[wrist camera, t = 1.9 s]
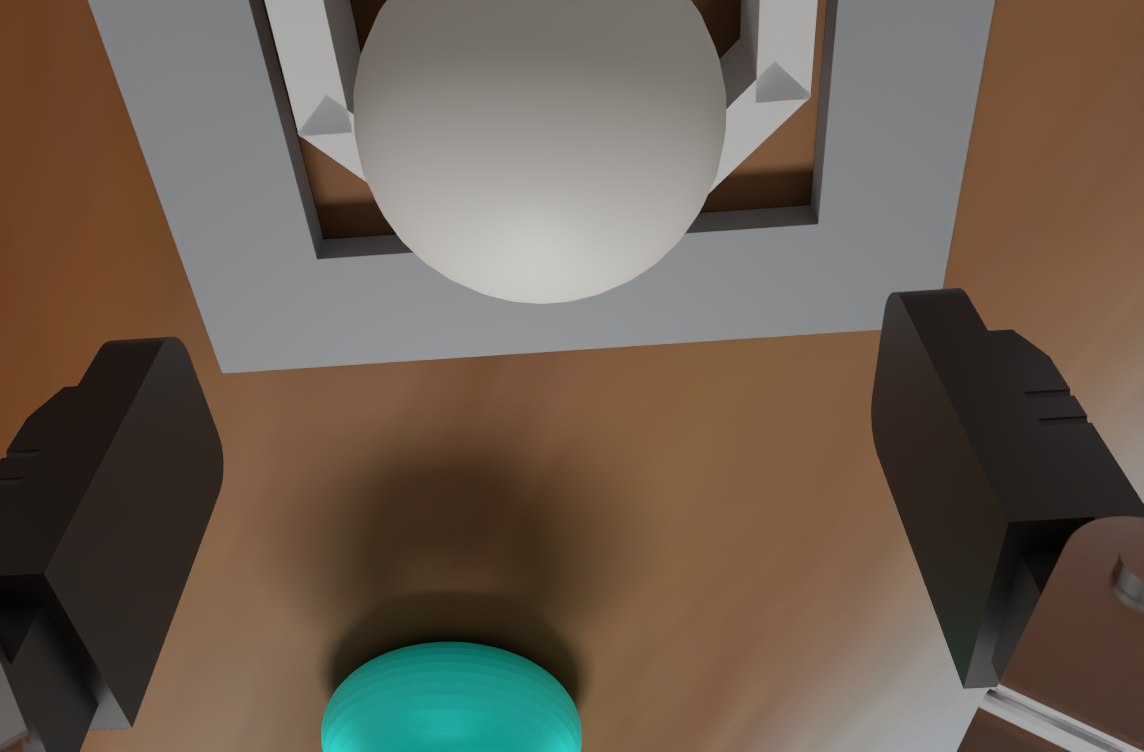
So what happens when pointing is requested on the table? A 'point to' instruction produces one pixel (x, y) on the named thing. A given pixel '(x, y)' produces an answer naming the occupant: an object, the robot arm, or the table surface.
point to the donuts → (451, 704)
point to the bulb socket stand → (611, 319)
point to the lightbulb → (540, 137)
